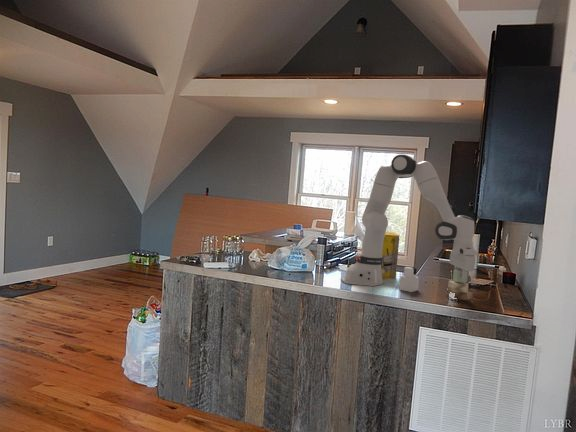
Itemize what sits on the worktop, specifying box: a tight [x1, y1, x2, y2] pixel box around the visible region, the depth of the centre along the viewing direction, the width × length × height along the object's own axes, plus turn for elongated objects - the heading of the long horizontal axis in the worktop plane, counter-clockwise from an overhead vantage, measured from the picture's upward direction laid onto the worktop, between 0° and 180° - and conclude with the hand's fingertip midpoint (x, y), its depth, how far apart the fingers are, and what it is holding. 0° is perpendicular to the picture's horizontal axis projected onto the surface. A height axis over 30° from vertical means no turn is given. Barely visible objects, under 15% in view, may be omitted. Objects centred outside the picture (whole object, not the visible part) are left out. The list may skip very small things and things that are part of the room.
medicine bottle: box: [398, 266, 420, 293], centre depth 242 cm, size 7×7×12 cm
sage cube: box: [452, 269, 469, 283], centre depth 231 cm, size 5×5×5 cm
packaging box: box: [381, 231, 400, 280], centre depth 276 cm, size 16×16×25 cm
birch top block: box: [447, 280, 469, 294], centre depth 232 cm, size 7×7×4 cm
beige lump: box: [446, 288, 468, 301], centre depth 232 cm, size 7×7×4 cm
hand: (460, 276), depth 231 cm, fingers closed on sage cube, 5 cm apart
